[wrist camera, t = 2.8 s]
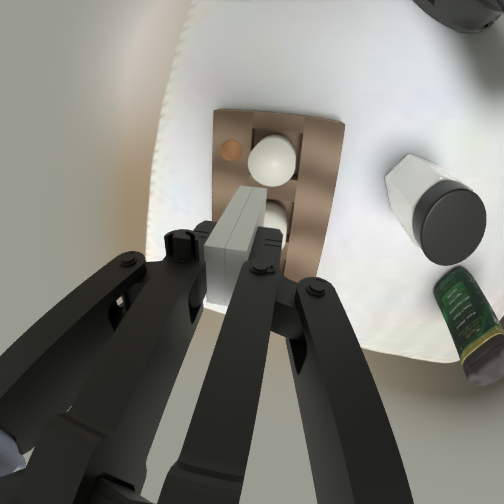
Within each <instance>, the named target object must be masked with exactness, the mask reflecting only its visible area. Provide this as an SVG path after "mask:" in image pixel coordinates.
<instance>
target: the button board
mask: <svg viewBox="0 0 504 504" xmlns="http://www.w3.org/2000/svg"><path fill="white" fill-rule="evenodd" d="M344 130H345V124H344V123H343V122H340V121H335V120H329V119H323V118H317V117H310V116H303V115H295V114H287V113H277V112H267V111H254V110H235V109H219V110H214V118H213V157H212V221H214V222H218V221H219V219H220V217H221V216H222V214H223V212H224V211H225V209H226V208H227V206H228V204H229V203H230V201H231V199H232V198H233V196H234V195H235V193H236V191H237V190H238V188H239V186H250V187H259V188H267V197H266V202H275V203H277V204H279V205H281V206H282V207H283V208H284V209H285V211H286V213H287V216H288V223H287V232H286V242H285V245H284V247H283V249H282V250H281V258H280V265H279V267H280V271H281V273H282V274H283V275H284V276H285V277H287V278H288V279H290V280H292V281H295V282H297V283H299V281H300V280H302V279H304V278H306V277H316V274H317V270H318V266H319V262H320V258H321V253H322V249H323V245H324V240H325V236H326V231H327V226H328V222H329V217H330V212H331V207H332V202H333V197H334V191H335V186H336V180H337V175H338V169H339V163H340V157H341V150H342V144H343V137H344ZM272 134H278V135H282V136H285V137H286V138H288V139H289V140H290V141H291V142H292V143H293V145H294V147H295V150H296V164H295V171H294V174H293V176H292V177H291V178H290V179H289V180H288V181H287V182H286V183H284V184H282V185H279V186H273V187H272V186H265V185H263V184H261V183H259V182H257V181H256V180H255V179H254V178H253V177H252V175H251V174H250V171H249V168H248V158H249V155H250V153H251V151H252V150H253V149H254V147H255V146H256V145H257V144H258V143H259V142H260V141H261V140H262V139H263V138H264V137H266V136H268V135H272Z"/></svg>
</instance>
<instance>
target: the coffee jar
mask: <svg viewBox="0 0 504 504" xmlns="http://www.w3.org/2000/svg"><path fill="white" fill-rule="evenodd" d="M434 296H435V299H436V301H437V303H438V306H439V308H440V310H441V312H442V314H443V317H444V319H445V321H446V323H447V326H448V328H449V331H450V333H451V336H452V338H453V341H454V344H455V347H456V349H457V352H458V355H459V358H460V361H461V364H462V366H463V369H464V372H465V374H466V377H467V379H468V380H469V381H470V382H471V383H472V384H474V385H477V386H490V385H492V384H493V383H494V382H496V381H497V380H499V379H500V378H501V377H503V376H504V330H503V329H502V326H501V325H500V322H499V321H498V319H497V317H496V315H495V313H494V311H493V309H492V308H491V306H490V304H489V302H488V301H487V299H486V297H485V296H484V294H483V292H482V291H481V289H480V287H479V286H478V284H477V283H476V281H475V280H474V278H473V277H472V275H471V274H470V273H469V272H468V271H467V270H466V269H464V268H458V269H455V270H454V271H452V272H450V273H449V274H448V275H446V276H445V277H444V278H443V279H442V280H441V281H440V283H439V284H438V285H437V287H436V289H435V293H434Z"/></svg>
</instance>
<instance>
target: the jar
mask: <svg viewBox="0 0 504 504" xmlns="http://www.w3.org/2000/svg"><path fill="white" fill-rule="evenodd" d="M385 182H386V187H387V192H388V198H389V203H390V209H391V210H392V212H393V213H394V215H395V216H396V218H397V219H398V221H399V222H400V224H401V225H402V227H403V228H404V230H405V231H406V233H407V234H408V236H409V238H410V239H411V241H412V242H413V244H414V245H415V246H418V247H420V248H421V249H422V251H423V252H424V254H425V256H426V257H427V258H428V259H429V260H430V261H432V262H433V263H435V264H438V265H443V266H448V265H454V264H457V263H459V262H461V261H463V260H465V259H466V258H467V257H469V256H470V255H471V254H472V253H473V252H474V251H475V249H476V248H477V247H478V245H479V244H480V242H481V240H482V238H483V235H484V232H485V228H486V210H485V207H484V204H483V202H482V200H481V199H480V197H479V196H478V195H477V194H476V193H474V192H473V190H472V189H471V188H470V187H469V186H467V185H466V184H464V183H463V182H462V181H460V180H459V179H457V178H456V177H454V176H453V175H451V174H450V173H448V172H447V171H445V170H444V169H442V168H441V167H439V166H438V165H436V164H434V163H431V162H429V161H426V160H424V159H421V158H419V157H416V156H414V155H411V154H407V155H406V156H405V157H404V158H403V159H402V160H401V161H400V162H399V163H398V164H397V165H396V166H395V167H394V168H393V169H392V170H391V171H390V172H389V173H388V174H387V175H386V176H385Z"/></svg>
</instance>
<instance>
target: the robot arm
mask: <svg viewBox="0 0 504 504" xmlns="http://www.w3.org/2000/svg"><path fill="white" fill-rule="evenodd" d="M414 1H415V3H416V4H418V5H419V6H420V7H421V8H422V9H423V10H424V11H425V12H426V13H428V14H429V15H430V16H432V17H433V18H434V19H436V20H437V21H439V22H440V23H442V24H444V25H446V26H448V27H450V28H452V29H454V30H457V31H460V32H466V33H473V32H478V31H483V30H486V29H488V28H489V27H490V26H491V25H492V24H493V23H494V21H496V20H497V19H498V18H499V17H500V16H501V15H502V13H504V0H414ZM266 197H267V188H259V187H250V186H239V188H238V190H237V191H236V193H235V195H234V196H233V198H232V199H231V201H230V203H229V204H228V206H227V208H226V209H225V211H224V212H223V214H222V216H221V217H220V219H219V221H218V222H214V221H203V222H202V223H200V224H198V225H197V226H196V228H195V229H194V231H191V230H187V229H179V230H174V231H171V232H169V233H167V234H166V235H165V236H164V240H165V248H166V256H165V258H164V259H163V260H162V261H156V262H146V260H145V257H144V255H143V254H142V253H140V252H136V251H129V252H125V253H122V254H121V255H119V256H117V257H116V258H114V259H113V260H112V261H110V262H109V263H107V265H105V266H103V267H102V268H101V269H100V270H98V271H97V272H96V273H94V274H93V275H92V276H91V277H89V278H88V279H87V280H85V281H84V282H83V283H82V284H81V285H79V286H78V287H77V288H76V289H74V290H73V291H72V292H71V293H69V294H68V295H67V296H66V297H65V298H63V299H62V300H61V301H60V302H59V303H57V304H56V305H55V306H54V307H53V308H52V309H50V311H48V312H47V313H46V314H45V315H44V316H43V317H41V318H40V319H39V320H38V321H37V322H36V323H35V324H33V326H31V327H30V328H29V329H28V330H27V331H26V332H25V333H24V334H23V335H22V336H20V337H19V338H18V339H17V340H16V341H15V342H14V343H13V344H12V345H11V346H10V347H9V348H8V349H7V350H6V351H5V352H4V353H3V354H2V355H1V356H0V504H153V503H151V502H150V501H148V500H146V499H145V498H143V497H142V496H140V494H141V491H142V488H143V485H144V482H145V479H146V473H147V469H146V459H147V456H148V453H149V450H150V448H151V445H152V442H153V439H154V437H155V434H156V431H157V428H158V426H159V423H160V420H161V418H162V415H163V412H164V410H165V407H166V404H167V402H168V399H169V396H170V394H171V391H172V388H173V386H174V383H175V380H176V378H177V375H178V373H179V370H180V368H181V365H182V362H183V360H184V357H185V355H186V352H187V349H188V347H189V345H190V342H191V339H192V337H193V335H194V332H195V330H196V327H197V325H198V322H199V319H200V317H201V315H202V312H203V299H204V297H205V294H206V298H207V302H208V303H214V304H219V305H225V306H228V309H227V312H226V315H225V318H224V321H223V324H222V327H221V330H220V333H219V336H218V339H217V342H216V345H215V348H214V352H213V355H212V358H211V361H210V364H209V367H208V370H207V373H206V376H205V379H204V382H203V385H202V388H201V391H200V395H199V398H198V401H197V404H196V407H195V410H194V413H193V416H192V419H191V423H190V426H189V429H188V432H187V435H186V438H185V441H184V444H183V447H182V451H181V453H180V456H179V458H178V460H177V462H176V463H175V464H174V465H173V466H172V467H171V468H170V470H169V472H168V474H167V476H166V479H165V481H164V484H163V487H162V490H161V493H160V496H159V500H158V503H157V504H239V500H240V495H241V490H242V486H243V481H244V475H245V470H246V466H247V460H248V455H249V450H250V445H251V440H252V435H253V430H254V424H255V419H256V414H257V407H258V402H259V397H260V391H261V385H262V379H263V373H264V367H265V362H266V355H267V349H268V343H269V336H270V331H272V332H275V333H277V334H280V335H282V336H284V337H286V344H287V349H288V354H289V359H290V364H291V368H292V373H293V378H294V383H295V388H296V393H297V398H298V402H299V408H300V413H301V418H302V423H303V428H304V433H305V439H306V444H307V449H308V454H309V460H310V465H311V470H312V475H313V481H314V486H315V492H316V498H317V503H318V504H414V502H413V498H412V495H411V490H410V487H409V483H408V480H407V476H406V473H405V469H404V466H403V462H402V459H401V456H400V453H399V450H398V447H397V444H396V440H395V437H394V435H393V431H392V429H391V426H390V423H389V420H388V417H387V414H386V412H385V408H384V406H383V403H382V400H381V398H380V395H379V392H378V390H377V387H376V384H375V382H374V379H373V377H372V374H371V372H370V369H369V366H368V364H367V361H366V359H365V357H364V354H363V352H362V349H361V347H360V344H359V342H358V340H357V337H356V335H355V333H354V330H353V328H352V326H351V323H350V321H349V319H348V317H347V314H346V312H345V310H344V308H343V305H342V303H341V301H340V299H339V297H338V294H337V292H336V290H335V288H334V287H333V285H332V284H331V283H329V282H328V281H326V280H324V279H322V278H319V277H306V278H304V279H302V280H300V281H299V283H297V282H295V281H292V280H290V279H288V278H287V277H285V276H284V275H283V274H282V273H281V271H280V267H279V265H280V258H281V249H282V241H283V234H282V232H281V231H280V229H276V228H268V227H264V219H265V208H266ZM119 297H122V300H123V303H121V304H120V305H117V302H116V300H117V299H118V298H119ZM71 406H72V407H71ZM70 407H71V408H70ZM69 408H70V410H69V411H67V410H68V409H69ZM33 447H35V448H34V450H33V452H32V455H31V457H30V459H29V461H28V464H27V466H26V461H25V458H24V457H23V456H22V455H23V454H25V453H27V452H28V451H30V450H31V449H32V448H33ZM25 466H26V468H25ZM16 468H17V469H19V471H16V472H13V471H14V470H15V469H16ZM12 472H13V473H12Z"/></svg>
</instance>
